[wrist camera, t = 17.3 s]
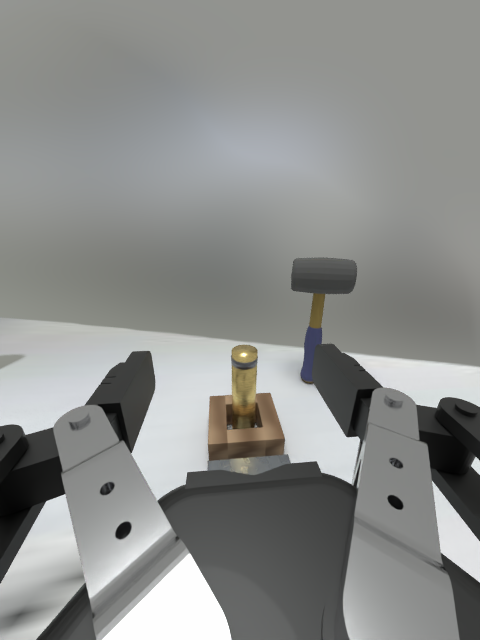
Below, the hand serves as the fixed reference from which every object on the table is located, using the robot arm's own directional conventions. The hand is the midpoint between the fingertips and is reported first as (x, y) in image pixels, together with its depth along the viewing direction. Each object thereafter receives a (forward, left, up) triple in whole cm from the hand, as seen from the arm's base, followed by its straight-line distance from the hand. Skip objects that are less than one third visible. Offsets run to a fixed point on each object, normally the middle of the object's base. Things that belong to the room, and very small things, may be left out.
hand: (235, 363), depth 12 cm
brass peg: (+3, +22, -30) cm, 38 cm away
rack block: (+3, +23, -30) cm, 38 cm away
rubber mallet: (+21, +38, -30) cm, 53 cm away
